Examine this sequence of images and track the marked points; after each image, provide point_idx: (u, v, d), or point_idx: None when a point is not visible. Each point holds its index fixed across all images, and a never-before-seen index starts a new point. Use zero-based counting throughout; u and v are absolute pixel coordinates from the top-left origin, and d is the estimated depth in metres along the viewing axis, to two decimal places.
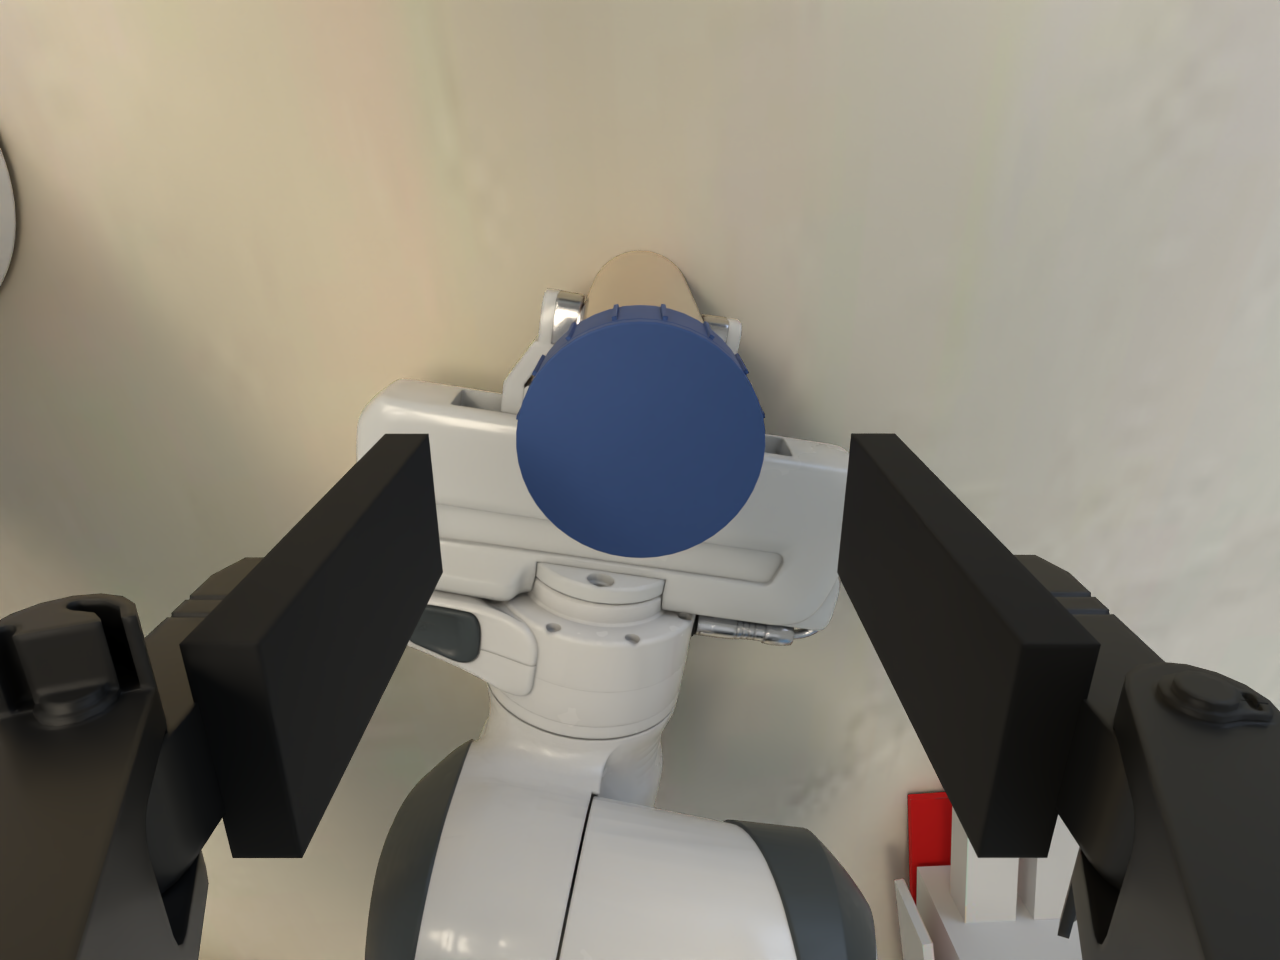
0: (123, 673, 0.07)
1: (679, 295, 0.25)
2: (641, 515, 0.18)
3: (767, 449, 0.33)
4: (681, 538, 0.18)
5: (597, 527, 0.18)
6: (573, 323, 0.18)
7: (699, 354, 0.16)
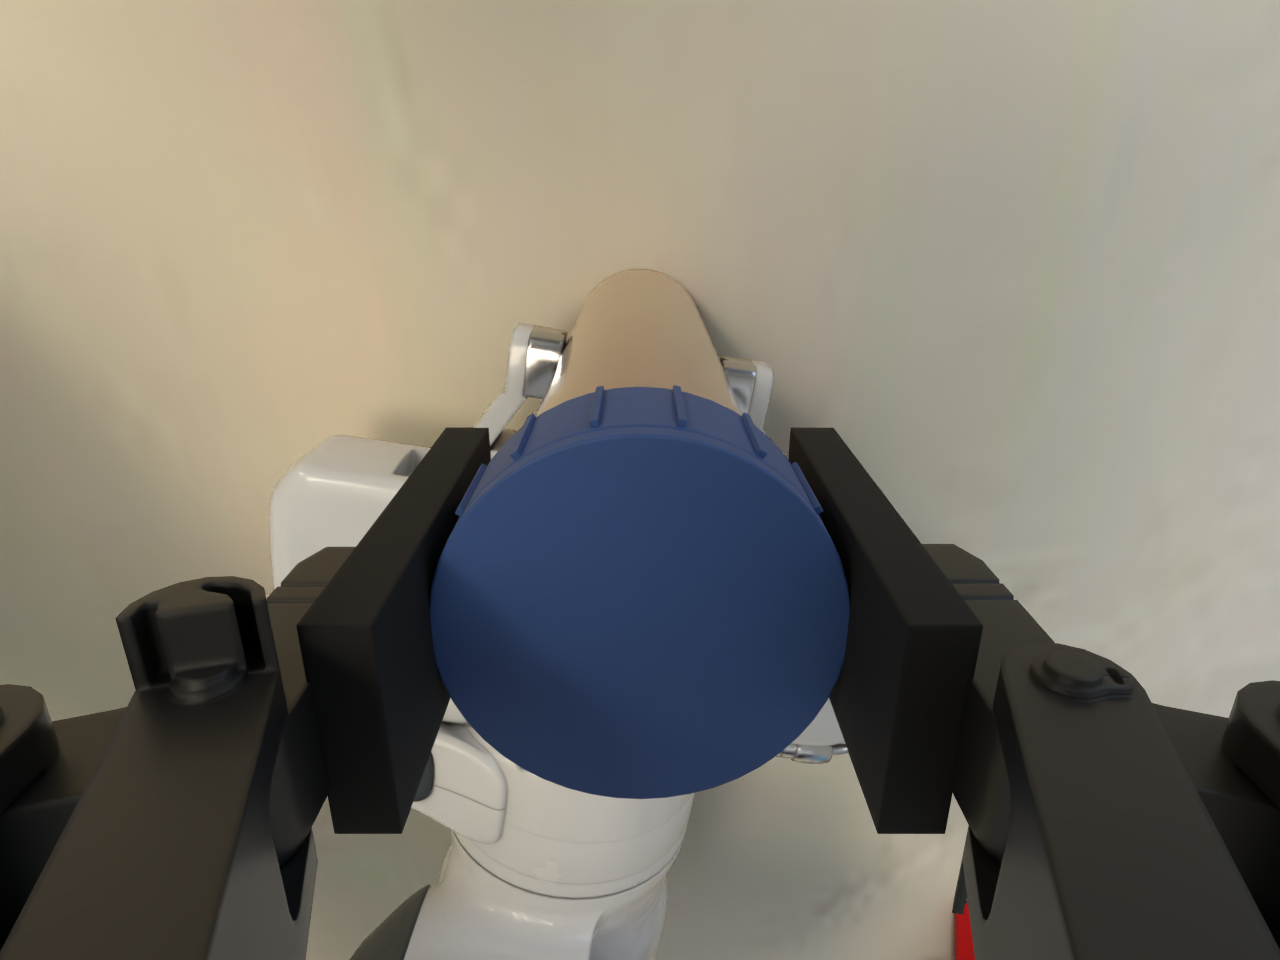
0: (250, 653, 0.08)
1: (694, 342, 0.18)
2: (641, 738, 0.11)
3: None
4: (706, 771, 0.11)
5: (568, 755, 0.11)
6: (530, 417, 0.11)
7: (742, 489, 0.09)
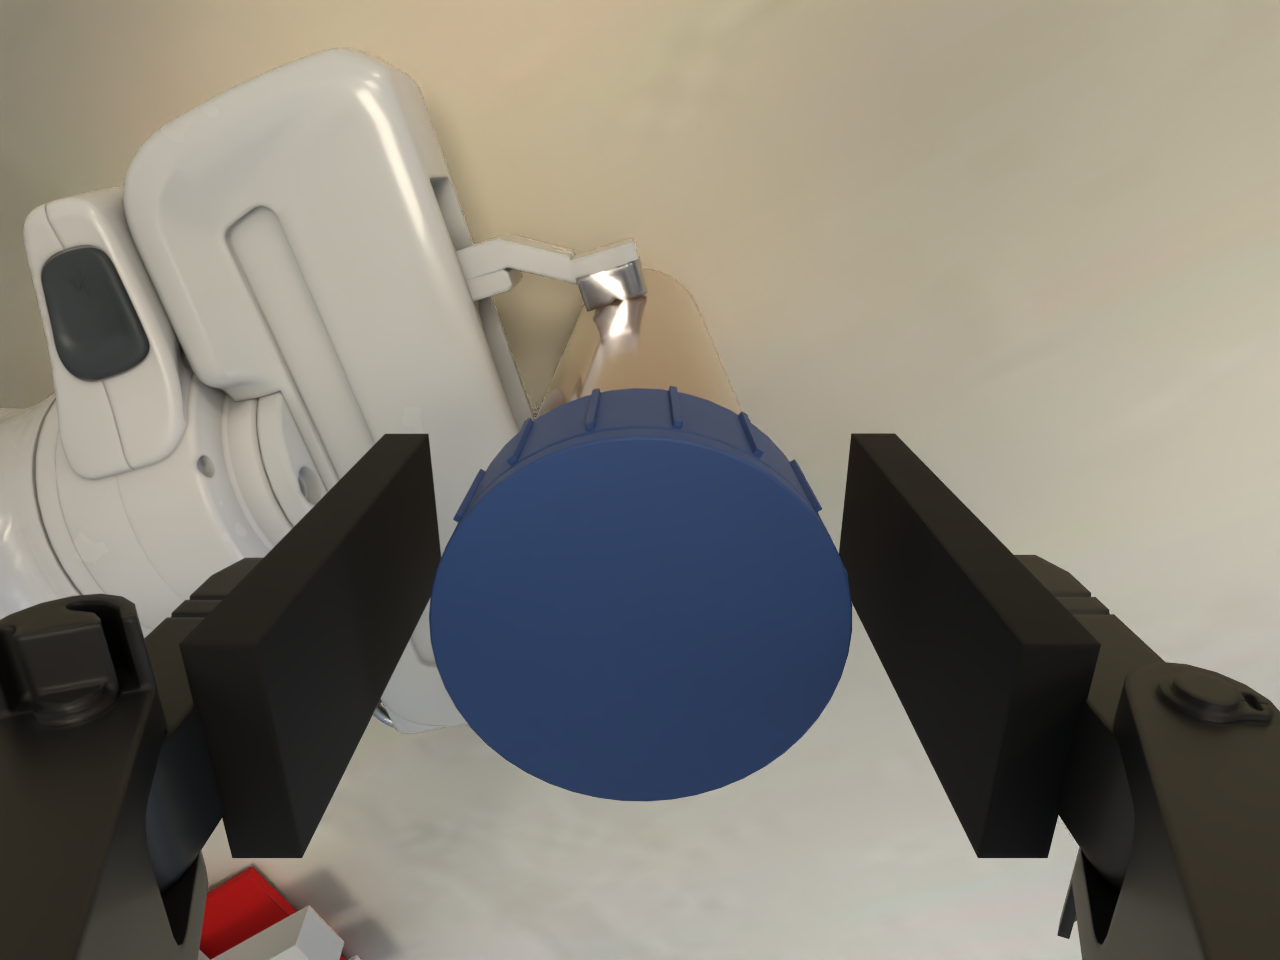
0: (123, 672, 0.07)
1: None
2: (729, 708, 0.10)
3: None
4: (809, 692, 0.10)
5: (692, 763, 0.11)
6: None
7: (586, 471, 0.09)
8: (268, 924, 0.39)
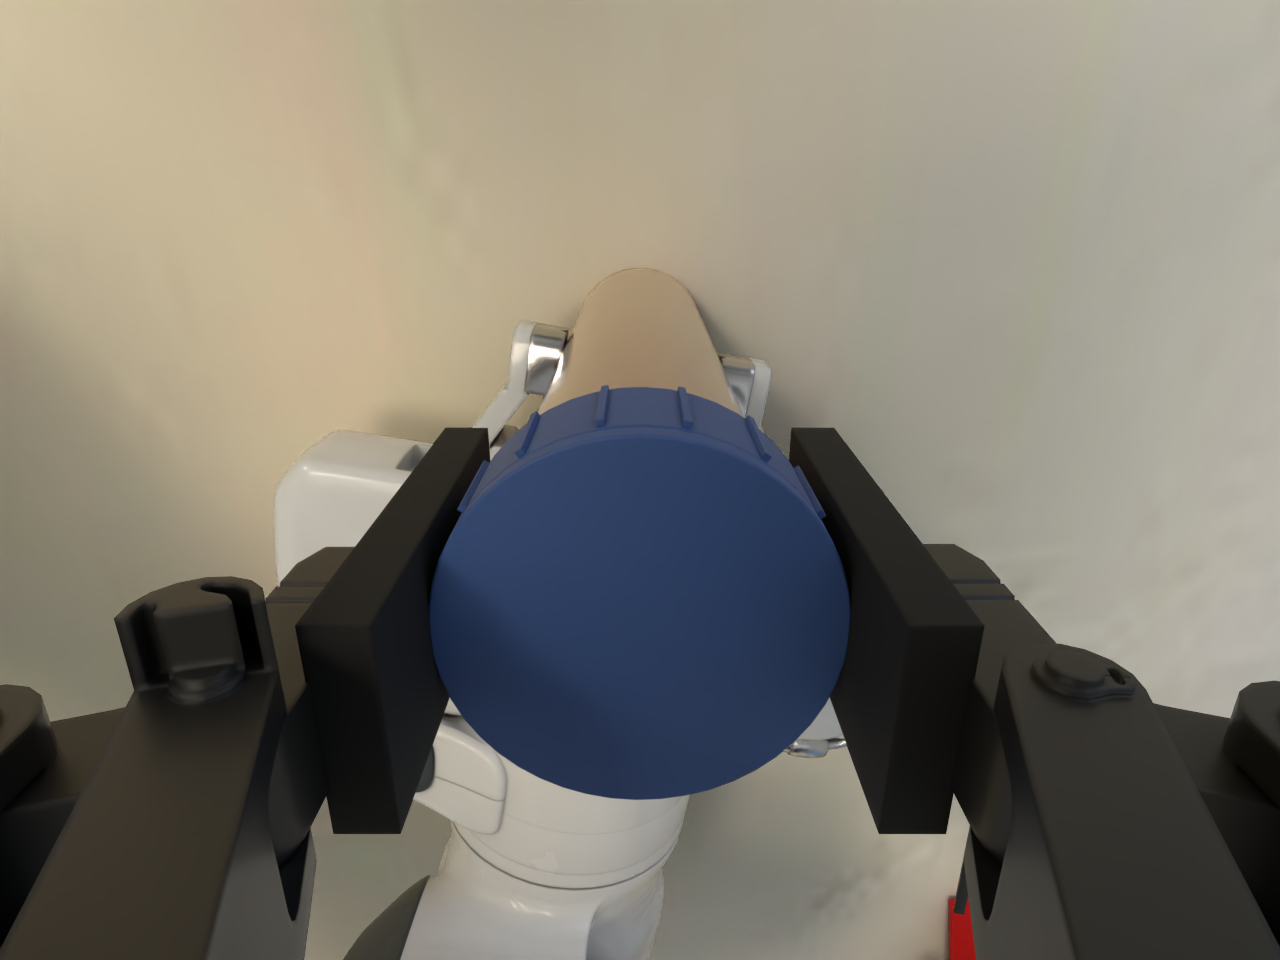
0: (248, 653, 0.08)
1: (693, 340, 0.18)
2: (759, 595, 0.10)
3: None
4: (782, 518, 0.09)
5: (805, 650, 0.10)
6: None
7: (454, 609, 0.10)
8: None
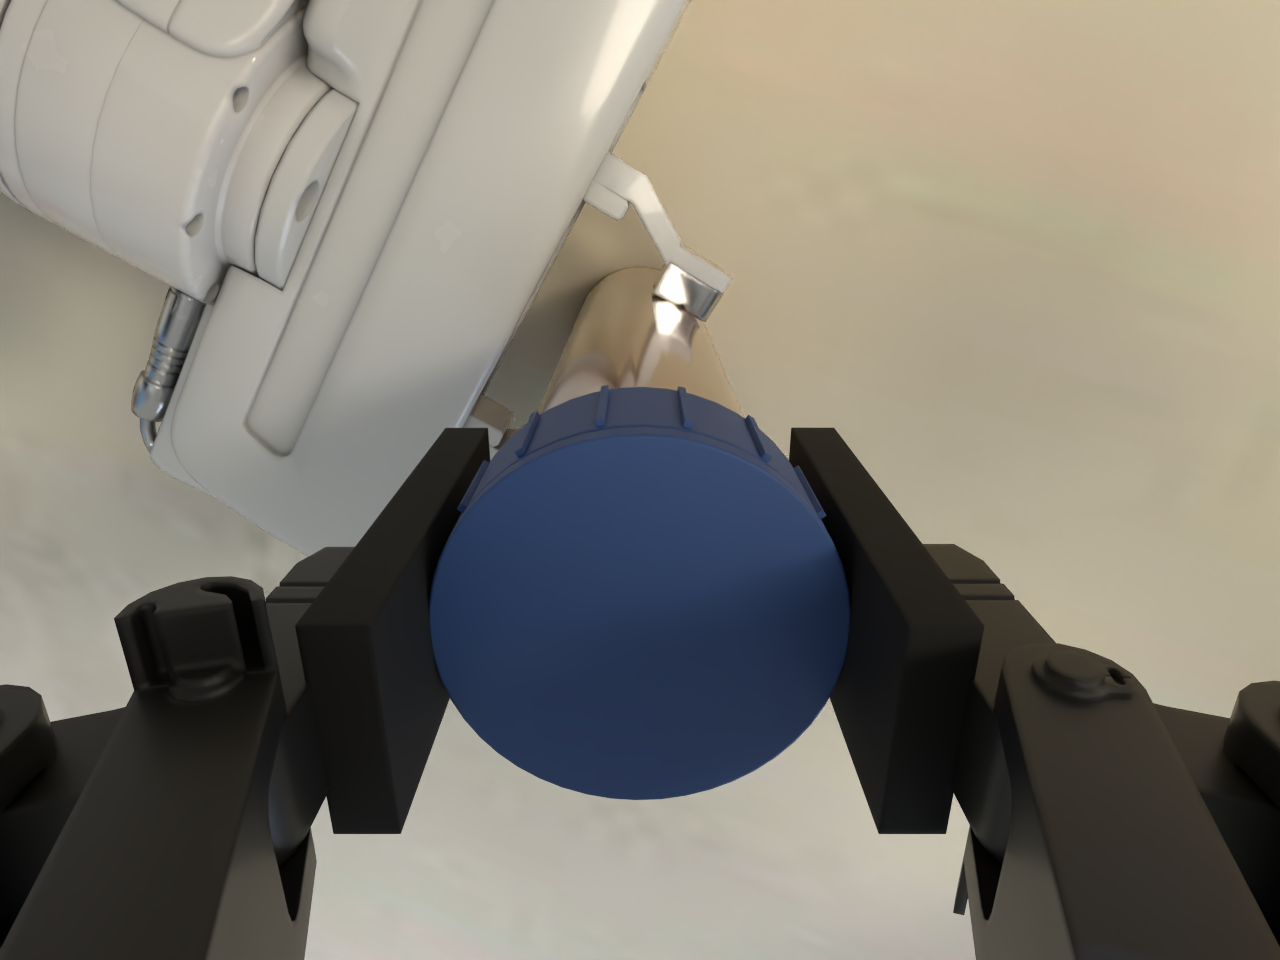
0: (248, 653, 0.08)
1: None
2: (760, 594, 0.10)
3: None
4: (782, 518, 0.09)
5: (805, 650, 0.10)
6: None
7: (454, 609, 0.10)
8: None
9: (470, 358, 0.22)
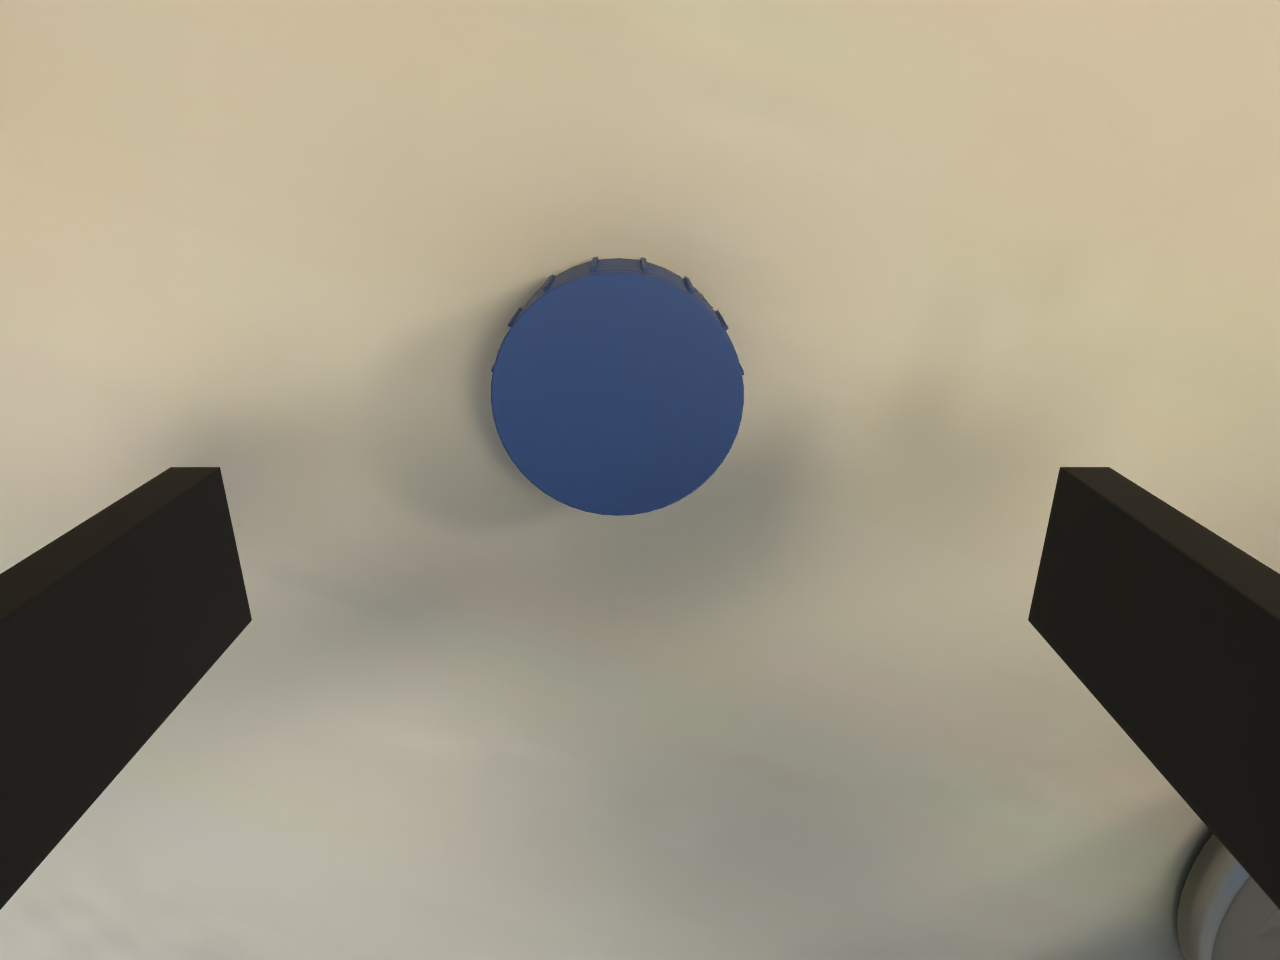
0: None
1: None
2: (688, 374, 0.17)
3: None
4: (699, 324, 0.16)
5: (717, 410, 0.17)
6: None
7: (506, 384, 0.17)
8: None
9: None
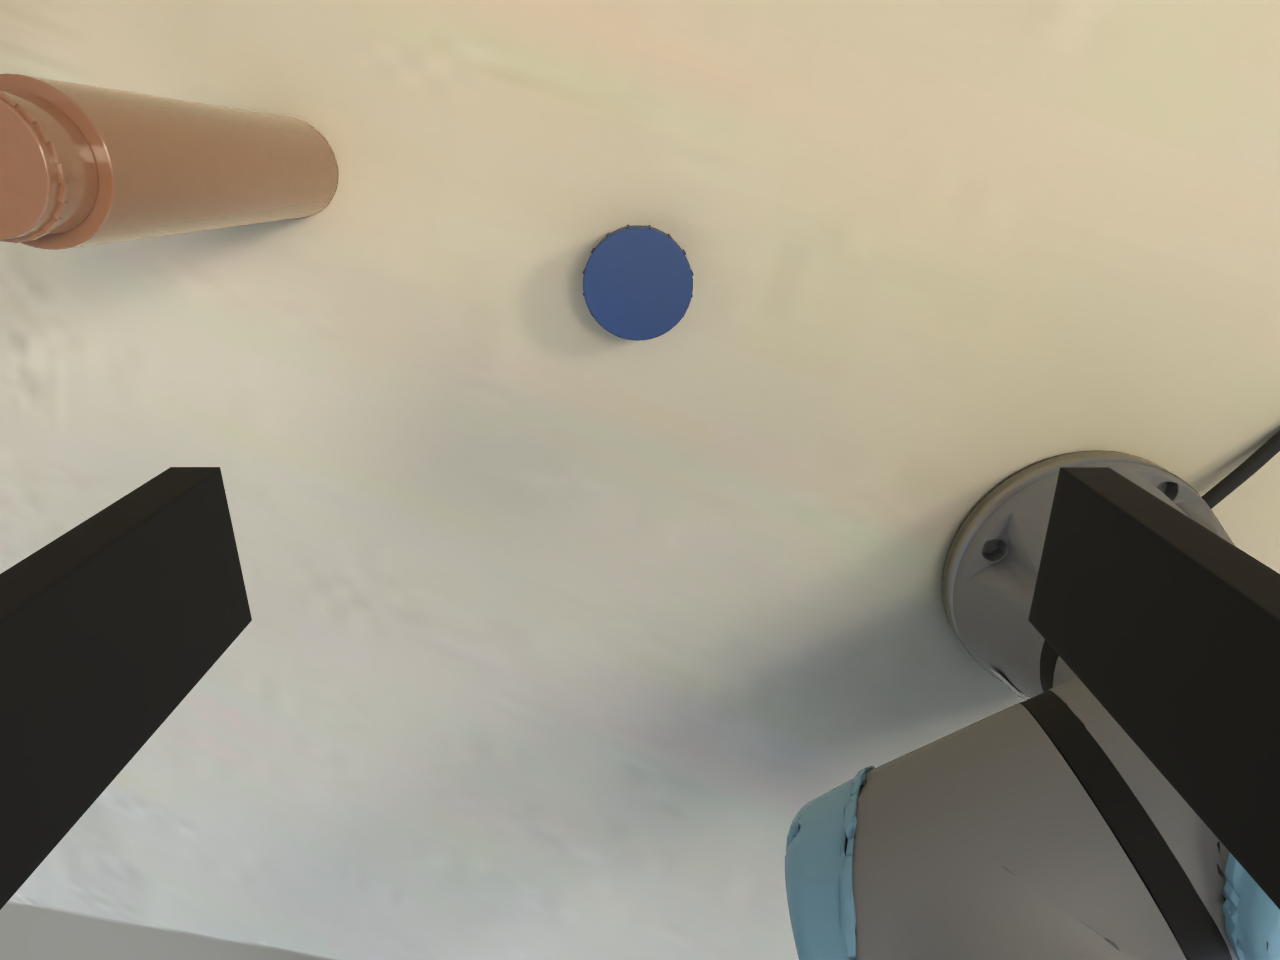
0: None
1: (209, 221, 0.29)
2: (668, 273, 0.39)
3: None
4: (673, 251, 0.38)
5: (681, 290, 0.39)
6: None
7: (590, 277, 0.39)
8: None
9: None
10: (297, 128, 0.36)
